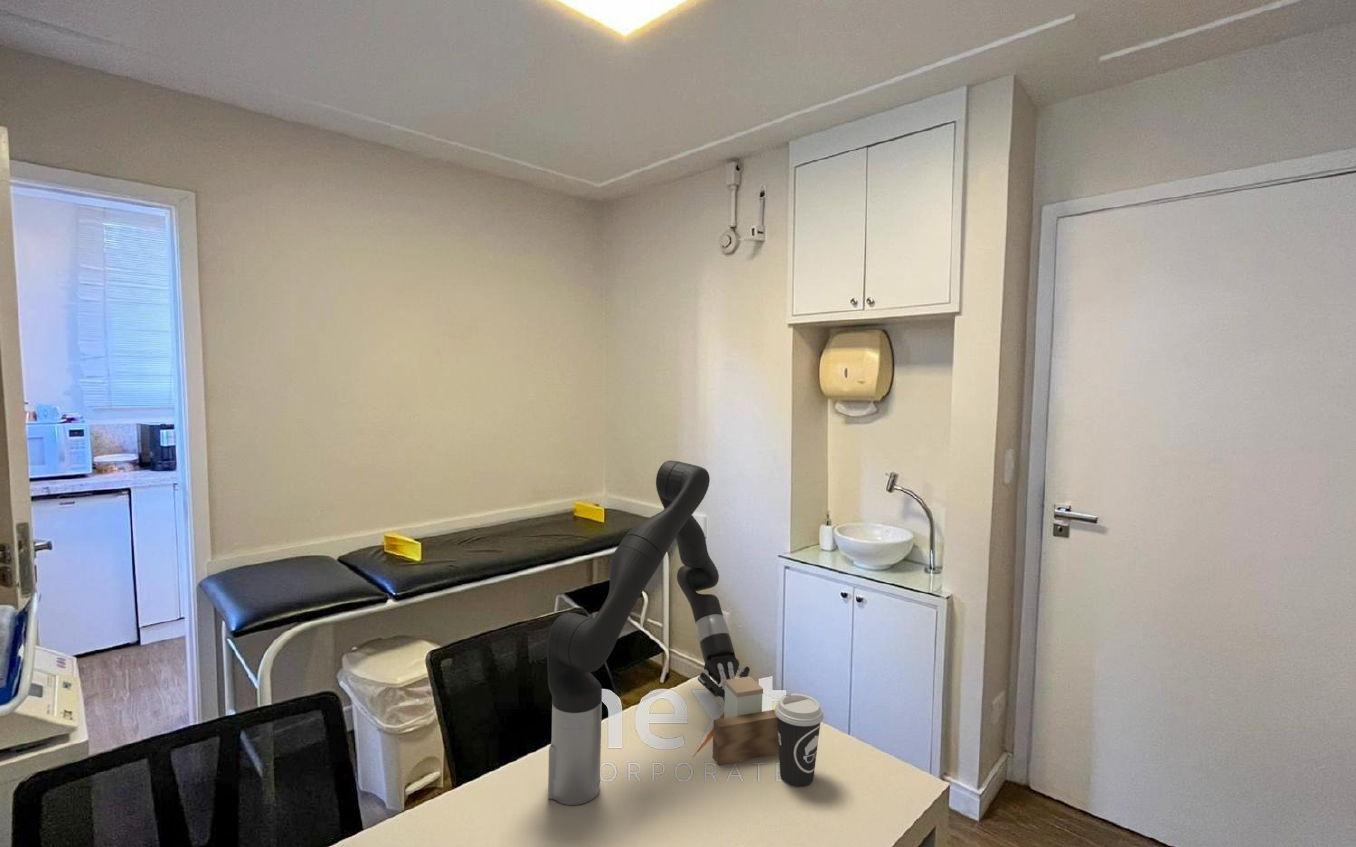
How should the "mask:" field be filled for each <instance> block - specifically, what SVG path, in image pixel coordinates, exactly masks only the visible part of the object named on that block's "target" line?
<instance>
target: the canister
mask: <svg viewBox="0 0 1356 847" xmlns="http://www.w3.org/2000/svg"><path fill="white" fill-rule="evenodd" d="M763 694H764V688H763V687H762V686H761V685H760V684H759V683H758V682H757V681H755V680H754V679H753V678H752V677H751V676H749V675H748V676H747V677H742V678H739V677H735V679H729V680H725V704H724V711H723V713H724V714H723V718H727V717H733V716H739V715H745V714H751V713H757V712H763Z"/></svg>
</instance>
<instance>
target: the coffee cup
mask: <svg viewBox="0 0 1356 847" xmlns="http://www.w3.org/2000/svg"><path fill="white" fill-rule="evenodd" d="M778 699H779V700H778V702H776V705H775V707H774V709H773V710H774V712H775V715H776V716H777V724H778V743H779V754H778V755H779V756H778V758H779V776H780V778H781V780H782V781H783V782H784V783H785V784H787V785H789V786H792V787H797V788H804V787H808V786H810V785H811V784H812V783H813V781H814V777H815V769H816V768H815V767H816V762H817V753H818V752H817V751H818V746H819V745H818V744H819V736H820V731H821V730H820V729H821V723H822V722H823V720H824V718H825V716H824V711H823V709H822V707H821V705H820V703H819V702H818V701H819V700H816V699H815V698H814V697H812V696H809V695H806V694H801V693H788V694H783V695H782V696H781V697H780V698H778Z"/></svg>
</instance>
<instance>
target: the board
mask: <svg viewBox="0 0 1356 847" xmlns="http://www.w3.org/2000/svg"><path fill="white" fill-rule="evenodd" d="M774 710H775V709H770V710H764V711H763V710H762V712H757V713H751V714H745V715H739V716H733V717H727V718H724V717H721V718H717V719H715V718H714V719H713V721H712V723H713V726H712V759H713V760H714V762H715V763H716V764H717V766H722V765H728V764H732V763H736V762H743V761H747V760H753V759H757V758H758V759H759V758H763V757H768V756H774V755H779V743H778V724H777V716H776V715H775V712H774Z"/></svg>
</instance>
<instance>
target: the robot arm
mask: <svg viewBox="0 0 1356 847" xmlns="http://www.w3.org/2000/svg"><path fill="white" fill-rule="evenodd" d="M709 486H710V474H709V472H708V470H707V469H706V468H704V467H702V466H699V465H695V464H692V463H687V462H684V461H683V462H682V461H678V460H666V461H664V462H663V463H662V464H661V465H660V467H659V469H658V470H657V473H656V477H655V488H656V492H657V495H658V497H659V498H658V499H659V500H660V502H661V504H662V506H663V507H662V508H663V510H661V511H660V512H657V513H655V514H654V515H651V516H650V517H648V518H646V519H645V520H643V521H642V522H640V523H638V524H636V525H635V526H633V527H632V528H631V529H630V530H628V532H627V533H626V534H625V536H624V537H623V539H622V540H621V541H620V543H619V544H618V546H617V548H616V549H615V551H614V552H613V553H612V557H611V560H610V565H609V590H608V594H607V597H606V599H605V600H604V603H603V604H602V606H601V608H600V609H599V611H598V612H597V614H596V615H594V616H593V618H592V617H589V616H585V615H582V614H579V613H576V612H565V613H562V614H561V615H560V616H558V617H557V618H556V619H555V620H554V621H553V624H552V625H551V628H550V630H549V633H548V637H547V644H546V656H547V657H546V659H547V660H546V663H547V684H548V689H549V692H550V694H551V705H552V706H551V707H552V708H551V742H550V746H549V747H548V748H549V749H548V777H547V778H548V780H547V781H548V784H547V788H548V789H547V799H548V800H555V801H556V802H558V803H560V804H562V805H567V806H579V805H581V804H585V803H588V802H590V801H591V800H593V799H594V798H596V797H597V796H598V794H599V793H600V790H601V762H602V761H601V758H602V756H601V755H602V753H601V751H602V750H601V749H602V712H603V711H602V705H603V689H602V684H601V683H600V682H599V680H598V678H596V677H595V676H594V675H593V674H592V673H593V672H595V671H597V670H599V669H600V668H601V667H602V666H603V665H604V664H605V662H606V661H607V659H608V658H609V657H610V655H611V653H612V651H613V650H614V647H615V645H616V643H617V641H618V639H619V637H620V636H621V633H622V631H623V629H624V627H625V625H626V622H627V621H628V618H629V616H630V615H631V613H632V611H633V609H634V608H635V605H636V604H637V602H638V600H639V598H640V596H641V595H642V593H643V592H644V589H645V588H646V586H647V585H648V583H649V582H650V580H651V579H652V577H653V576H654V574H655V573H656V572H657V570H658V568H659V566H660V564H661V563H662V561H663V560H664V558H665V556H666V554H667V552H668V551H669V549H670V547H671V546H672V544H673V542H674V541H675V539H676V544H677V549H678V555H679V558H680V562H681V563H682V564H683V565H682V566H680V567H679V569H678V570H677V572H676V573H677V574H676V581H677V583H678V586H679V588H680V589H681V591H682V592H683V594H684V595H685V597H686V599H687V602H688V603H689V605H690V607H691V611H692V615H693V619H694V622H695V627H696V635H697V641H698V643H699V648H700V651H701V654H702V659H703V661H704V665H703V672H701V673H700V674H699V675H698V677H697V681H698V682H699V683H700V684H701V685H702V686H703V687H704V688H705V689H706V690H707V691H708V692H709V693H710V694H712V695H713V696H714V697H716V698H717V697H720V698H722V699H723V700H722V701H723V703H724V705H725V680H729V679H735V678H736V675H737V674H738V676H739V677H738V678H742V677H749V674H750V671H751V670H750V669H751V668H750V667H749V666H743V665H742V664H740V662H739V659H738V658H737V657H736V653H735V649H734V646H733V645H734V644H733V641H732V639H731V635H730V632H729V627H728V625H727V622H726V620H725V618H724V614H723V610H722V608H721V604H720V600H719V598H718V597H717V596H716V595H715V594H710V593H704V594H703V593H699V592H700V591H704V590H708V589H713V588H715V587H716V586H717V584H718V583H719V580H720V575H719V570H718V568H717V567H716V565H715V563H714V562H713V560H712V558H711V557H710V555H709V552H708V547H707V541H706V540H707V539H706V536H705V533H704V531H703V528H702V527H701V525H700V523H699V522H698V521H697V519H696V518H695V516H693V514H694V513H695V512H696V510H697V508H699V506H700V505H701V503H702V501H703V500H704V498H705V497H706V494H707V492H708V490H709Z"/></svg>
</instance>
